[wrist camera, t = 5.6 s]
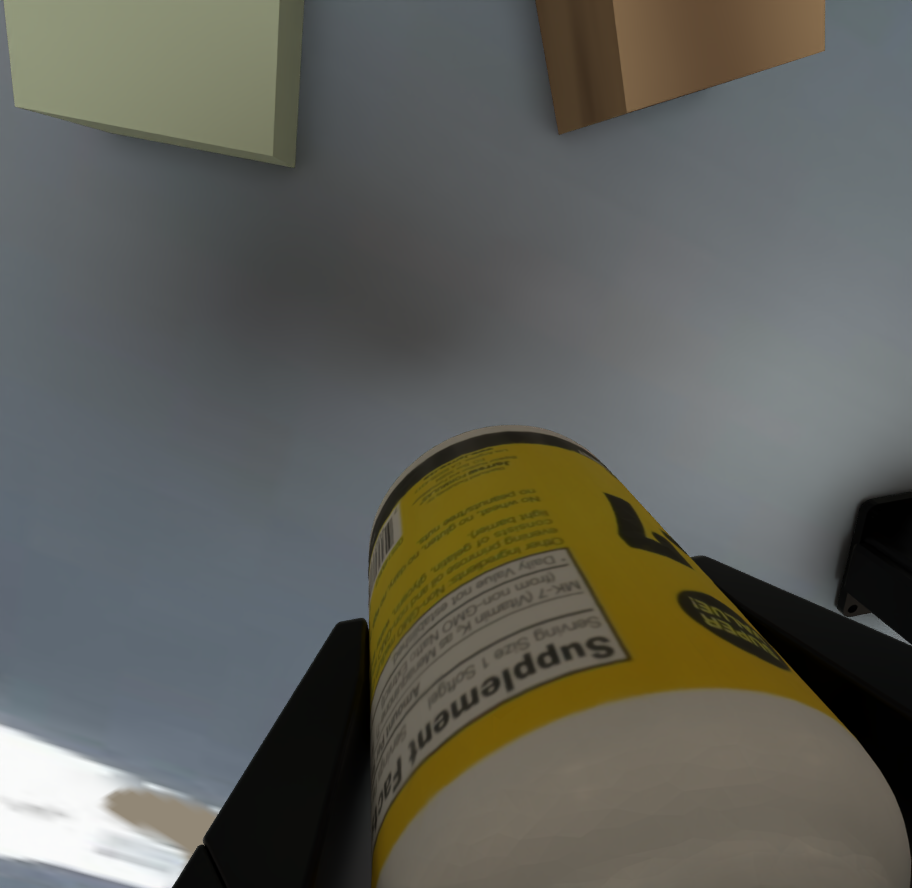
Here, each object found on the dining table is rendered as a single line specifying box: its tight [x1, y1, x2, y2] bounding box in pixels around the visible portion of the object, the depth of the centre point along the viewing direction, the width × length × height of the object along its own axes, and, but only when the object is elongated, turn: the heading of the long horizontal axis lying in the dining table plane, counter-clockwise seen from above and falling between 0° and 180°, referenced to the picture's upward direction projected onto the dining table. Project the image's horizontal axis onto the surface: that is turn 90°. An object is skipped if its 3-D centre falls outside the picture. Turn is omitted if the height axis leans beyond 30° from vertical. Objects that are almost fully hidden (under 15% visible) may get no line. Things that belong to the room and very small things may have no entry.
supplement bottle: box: [368, 425, 911, 888], centre depth 7 cm, size 5×5×8 cm
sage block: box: [4, 0, 304, 168], centre depth 13 cm, size 5×5×5 cm
